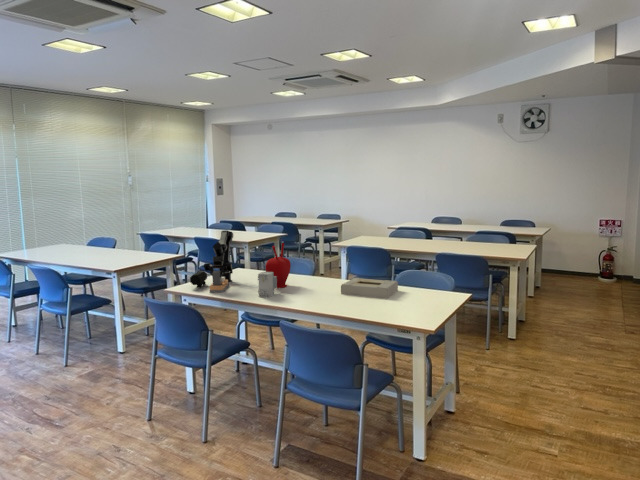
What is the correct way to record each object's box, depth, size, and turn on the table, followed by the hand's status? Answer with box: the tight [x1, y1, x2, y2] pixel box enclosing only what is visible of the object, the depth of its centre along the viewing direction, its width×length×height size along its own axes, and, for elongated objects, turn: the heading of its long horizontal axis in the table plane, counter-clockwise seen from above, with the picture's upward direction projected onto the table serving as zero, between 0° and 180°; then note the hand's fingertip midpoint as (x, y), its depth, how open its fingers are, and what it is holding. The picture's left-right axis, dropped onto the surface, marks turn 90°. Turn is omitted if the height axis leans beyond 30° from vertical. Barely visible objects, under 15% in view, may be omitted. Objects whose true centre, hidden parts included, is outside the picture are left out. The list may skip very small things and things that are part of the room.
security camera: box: [189, 270, 208, 289], centre depth 332 cm, size 7×18×10 cm, turn 174°
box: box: [340, 277, 399, 300], centre depth 306 cm, size 23×8×32 cm
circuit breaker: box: [257, 271, 278, 298], centre depth 304 cm, size 8×14×15 cm, turn 161°
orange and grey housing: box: [209, 277, 230, 294], centre depth 323 cm, size 21×9×7 cm, turn 0°
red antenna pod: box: [264, 242, 292, 289], centre depth 326 cm, size 21×13×30 cm, turn 160°
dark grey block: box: [211, 270, 222, 286], centre depth 317 cm, size 5×5×10 cm
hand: (216, 277), depth 315 cm, fingers closed on dark grey block, 5 cm apart
